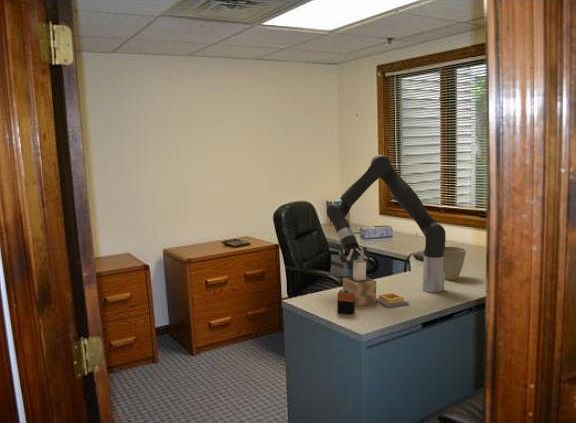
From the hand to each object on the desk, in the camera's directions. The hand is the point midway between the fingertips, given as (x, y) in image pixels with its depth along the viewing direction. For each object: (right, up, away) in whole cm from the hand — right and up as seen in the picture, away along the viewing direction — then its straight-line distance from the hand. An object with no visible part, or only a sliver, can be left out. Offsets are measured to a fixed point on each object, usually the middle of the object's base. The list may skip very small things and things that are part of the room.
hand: (359, 268), depth 221 cm
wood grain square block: (0, -15, +2) cm, 15 cm away
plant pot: (+54, -10, +40) cm, 68 cm away
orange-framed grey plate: (+14, -16, -1) cm, 21 cm away
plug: (0, -5, +1) cm, 5 cm away
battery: (-8, -18, -14) cm, 23 cm away
